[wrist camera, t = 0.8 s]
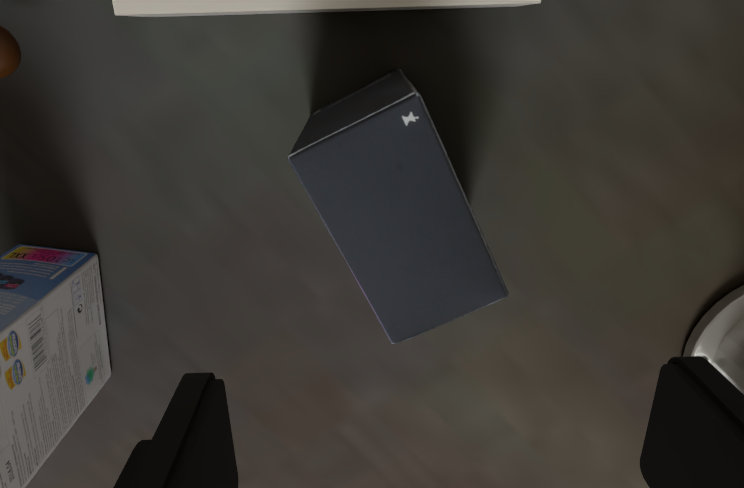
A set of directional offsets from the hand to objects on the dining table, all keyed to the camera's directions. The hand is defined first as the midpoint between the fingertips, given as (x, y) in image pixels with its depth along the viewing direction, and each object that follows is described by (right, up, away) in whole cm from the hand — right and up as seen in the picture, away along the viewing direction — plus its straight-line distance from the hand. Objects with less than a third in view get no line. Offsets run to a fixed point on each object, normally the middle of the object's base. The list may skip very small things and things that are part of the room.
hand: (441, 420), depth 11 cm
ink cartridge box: (-22, -1, +25) cm, 33 cm away
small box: (0, +8, +21) cm, 23 cm away
